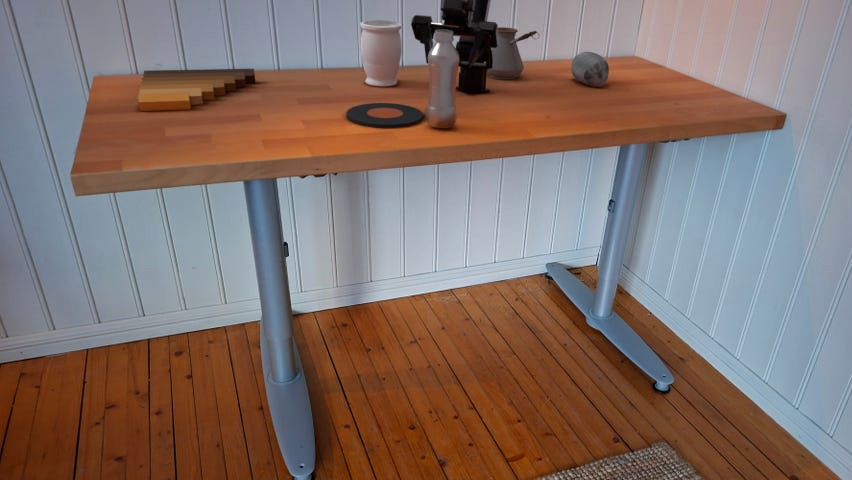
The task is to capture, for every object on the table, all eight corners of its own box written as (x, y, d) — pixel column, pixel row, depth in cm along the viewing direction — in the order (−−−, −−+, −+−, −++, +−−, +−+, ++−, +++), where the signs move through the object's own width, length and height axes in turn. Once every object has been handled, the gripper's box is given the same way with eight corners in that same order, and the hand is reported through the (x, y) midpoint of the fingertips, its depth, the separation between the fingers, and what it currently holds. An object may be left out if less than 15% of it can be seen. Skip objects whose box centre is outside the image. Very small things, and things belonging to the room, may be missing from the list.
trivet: (398, 103, 163) (398, 99, 162) (437, 122, 151) (437, 118, 150) (333, 111, 153) (333, 107, 153) (369, 132, 142) (369, 127, 141)
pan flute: (254, 80, 173) (146, 83, 165) (253, 66, 171) (144, 68, 163) (262, 107, 153) (140, 111, 144) (261, 92, 151) (137, 96, 143)
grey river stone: (620, 77, 186) (606, 43, 183) (589, 93, 186) (575, 59, 183) (603, 78, 199) (590, 46, 196) (575, 93, 199) (561, 61, 196)
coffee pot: (475, 72, 195) (478, 18, 188) (509, 70, 200) (514, 17, 193) (512, 91, 179) (517, 32, 172) (549, 88, 184) (555, 30, 177)
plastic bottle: (426, 121, 151) (428, 27, 141) (457, 123, 151) (461, 29, 141) (423, 130, 145) (425, 32, 135) (455, 132, 145) (459, 34, 135)
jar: (394, 90, 173) (394, 28, 166) (355, 85, 175) (353, 24, 167) (406, 80, 182) (406, 22, 175) (369, 76, 184) (368, 18, 177)
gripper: (414, -26, 144) (398, 37, 139) (500, -19, 141) (487, 45, 137) (423, 9, 154) (408, 68, 150) (503, 16, 152) (491, 77, 147)
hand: (448, 64), depth 146 cm, fingers open, 9 cm apart
